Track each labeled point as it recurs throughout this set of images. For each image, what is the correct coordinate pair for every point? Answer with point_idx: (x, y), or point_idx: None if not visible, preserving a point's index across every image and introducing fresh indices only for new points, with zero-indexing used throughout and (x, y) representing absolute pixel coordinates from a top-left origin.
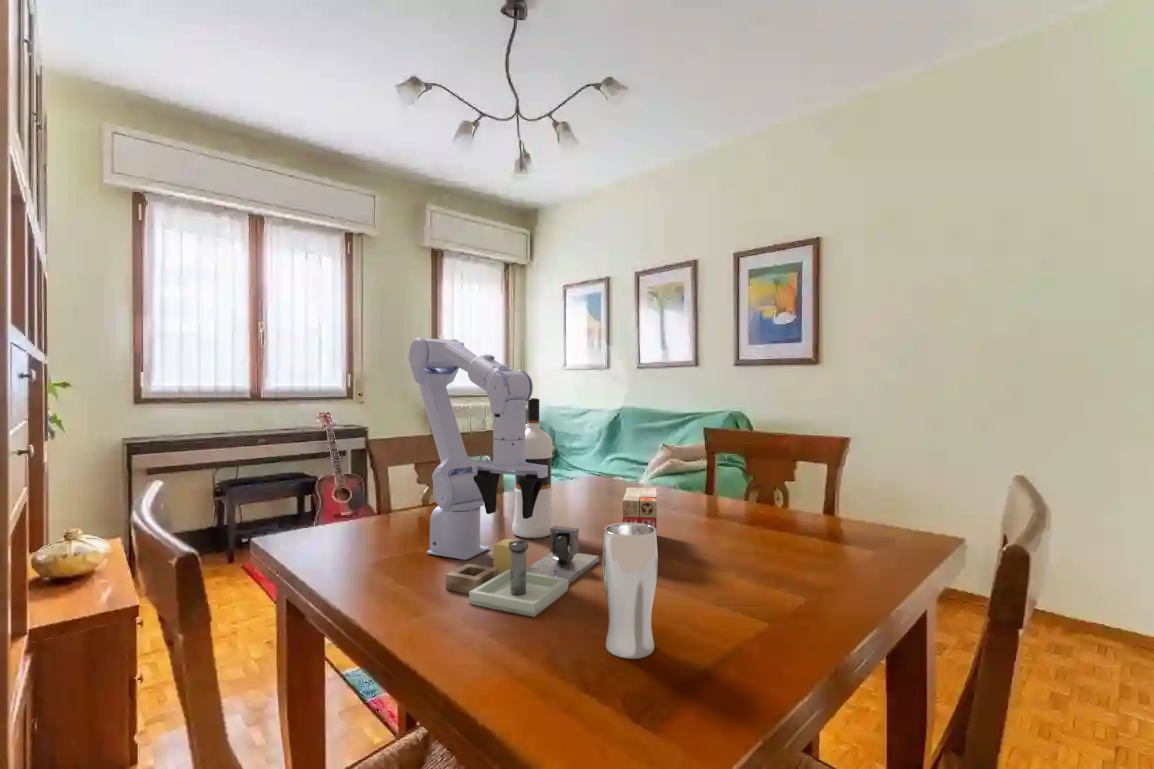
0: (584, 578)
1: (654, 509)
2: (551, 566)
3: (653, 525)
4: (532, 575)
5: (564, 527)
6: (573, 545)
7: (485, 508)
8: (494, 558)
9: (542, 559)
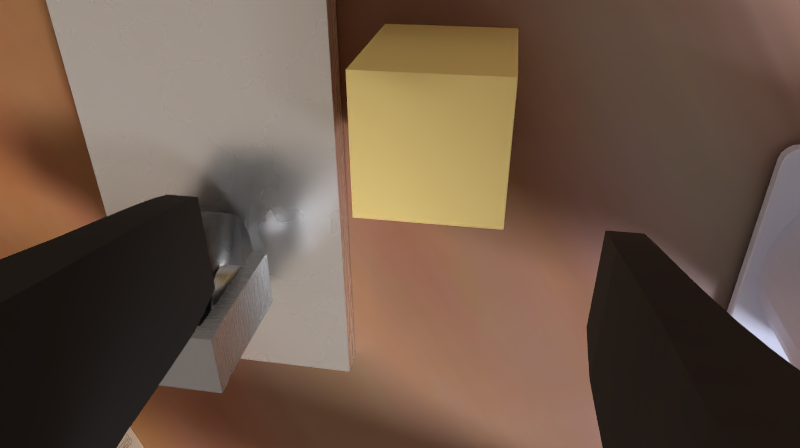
0: (73, 130)
1: None
2: (230, 160)
3: None
4: None
5: None
6: None
7: (663, 253)
8: (508, 48)
9: (330, 238)
